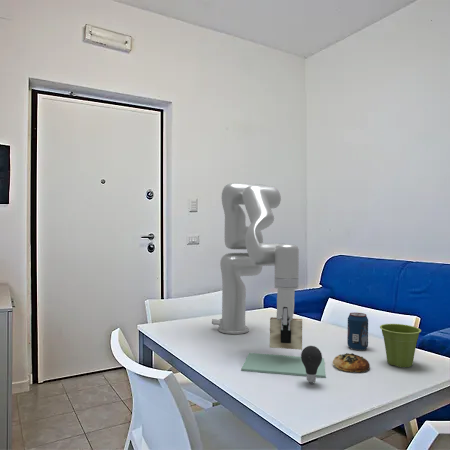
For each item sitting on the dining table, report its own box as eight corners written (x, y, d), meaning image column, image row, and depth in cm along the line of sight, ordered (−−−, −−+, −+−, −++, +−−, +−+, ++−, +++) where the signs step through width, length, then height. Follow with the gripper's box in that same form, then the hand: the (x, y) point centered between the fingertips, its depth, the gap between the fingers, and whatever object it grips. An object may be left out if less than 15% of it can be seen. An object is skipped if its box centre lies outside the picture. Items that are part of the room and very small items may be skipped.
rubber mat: (241, 370, 120) (241, 368, 120) (249, 354, 136) (249, 352, 136) (325, 377, 115) (325, 375, 115) (324, 360, 131) (324, 358, 131)
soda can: (350, 344, 150) (350, 311, 150) (369, 347, 146) (370, 313, 146) (345, 348, 144) (345, 314, 144) (365, 352, 140) (365, 317, 140)
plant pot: (371, 360, 131) (371, 325, 132) (400, 356, 136) (400, 322, 136) (399, 372, 120) (399, 334, 120) (429, 368, 125) (430, 331, 125)
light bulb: (298, 379, 114) (298, 343, 114) (318, 379, 114) (318, 343, 114) (303, 387, 108) (304, 349, 108) (324, 386, 108) (325, 348, 109)
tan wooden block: (269, 347, 130) (270, 318, 130) (270, 345, 132) (270, 317, 133) (301, 349, 128) (302, 320, 128) (302, 347, 130) (302, 319, 131)
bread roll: (378, 369, 123) (376, 352, 123) (352, 381, 117) (349, 363, 117) (350, 360, 133) (348, 344, 132) (324, 370, 127) (322, 354, 127)
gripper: (276, 280, 139) (276, 334, 139) (272, 286, 123) (271, 347, 123) (299, 280, 138) (298, 336, 137) (297, 287, 122) (297, 349, 121)
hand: (286, 341), depth 130 cm, fingers closed on tan wooden block, 2 cm apart
